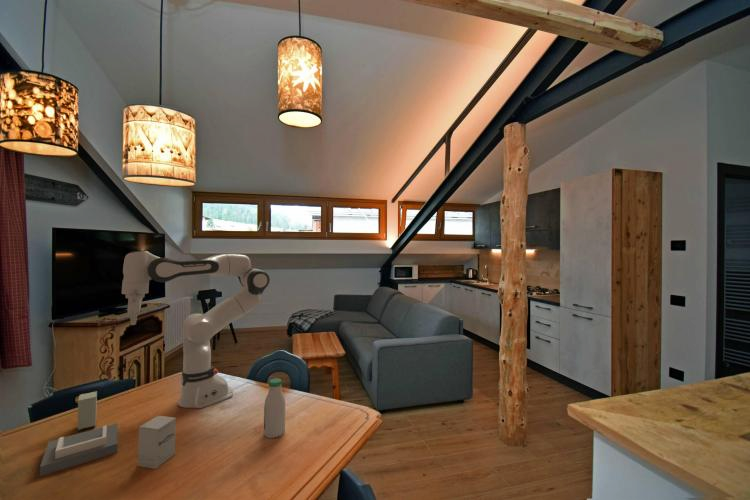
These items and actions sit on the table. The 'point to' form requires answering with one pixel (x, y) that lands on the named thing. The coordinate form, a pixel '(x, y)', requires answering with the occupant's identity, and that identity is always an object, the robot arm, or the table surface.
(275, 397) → the milk bottle
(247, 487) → the table surface
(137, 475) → the table surface
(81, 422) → the pale green footed pillar
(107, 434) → the dock
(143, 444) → the supplement box
